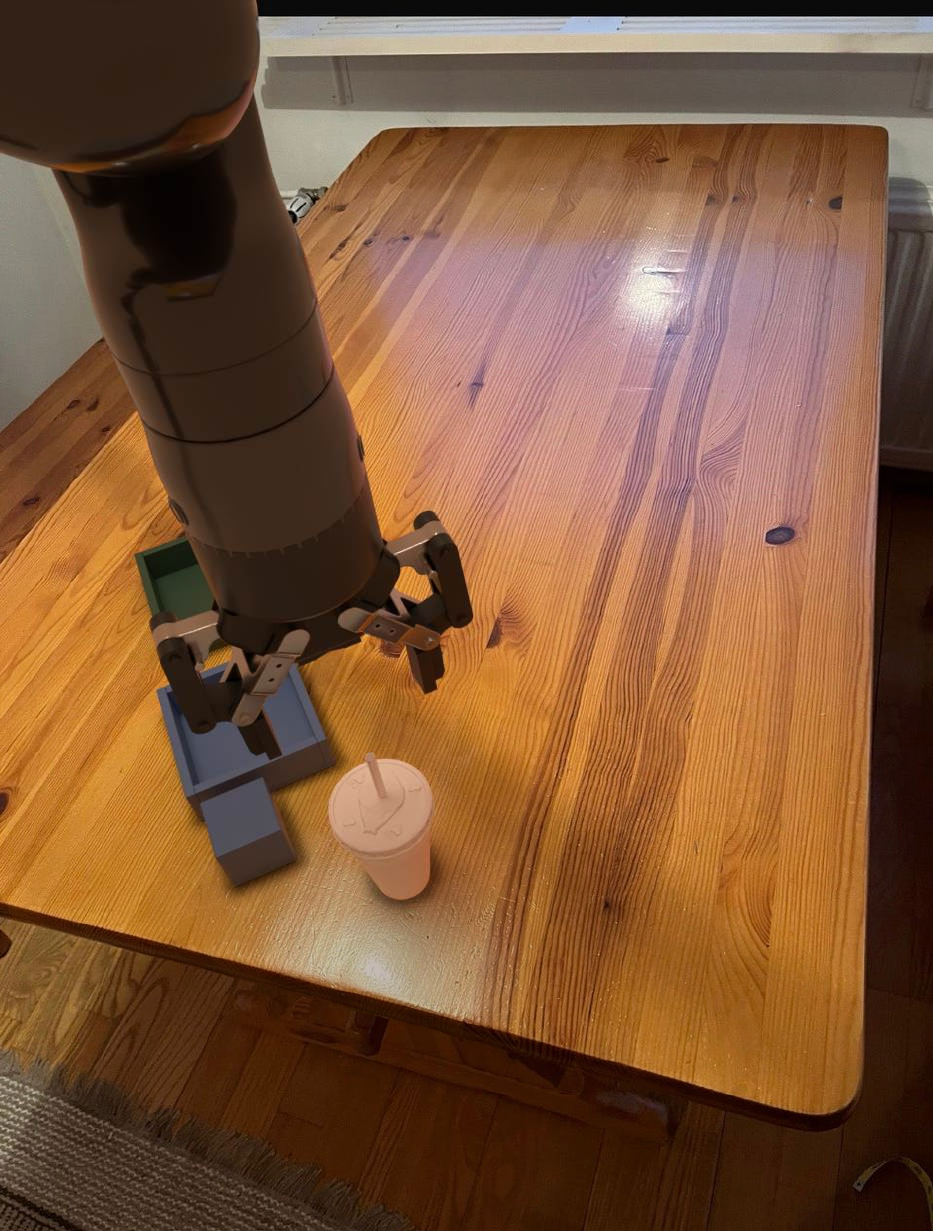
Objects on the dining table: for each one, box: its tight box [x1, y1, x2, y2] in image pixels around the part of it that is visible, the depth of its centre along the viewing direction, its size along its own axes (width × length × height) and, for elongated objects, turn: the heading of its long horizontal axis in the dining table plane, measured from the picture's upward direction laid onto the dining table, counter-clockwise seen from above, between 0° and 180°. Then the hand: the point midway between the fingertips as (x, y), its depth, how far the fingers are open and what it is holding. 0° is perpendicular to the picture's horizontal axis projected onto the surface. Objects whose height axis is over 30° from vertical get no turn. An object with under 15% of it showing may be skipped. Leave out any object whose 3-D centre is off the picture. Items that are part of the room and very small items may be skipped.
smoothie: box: [327, 752, 436, 901], centre depth 58 cm, size 6×6×14 cm
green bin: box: [133, 535, 230, 653], centre depth 80 cm, size 11×11×4 cm
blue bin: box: [155, 660, 337, 822], centre depth 70 cm, size 10×10×4 cm
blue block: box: [200, 777, 298, 888], centre depth 64 cm, size 4×4×4 cm
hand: (349, 712), depth 48 cm, fingers open, 8 cm apart
